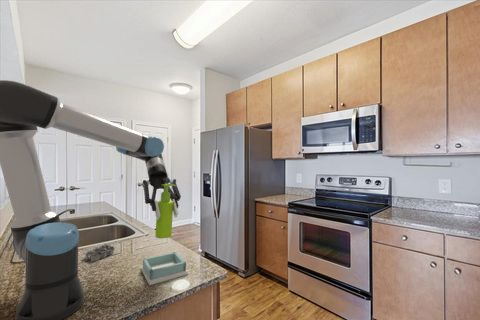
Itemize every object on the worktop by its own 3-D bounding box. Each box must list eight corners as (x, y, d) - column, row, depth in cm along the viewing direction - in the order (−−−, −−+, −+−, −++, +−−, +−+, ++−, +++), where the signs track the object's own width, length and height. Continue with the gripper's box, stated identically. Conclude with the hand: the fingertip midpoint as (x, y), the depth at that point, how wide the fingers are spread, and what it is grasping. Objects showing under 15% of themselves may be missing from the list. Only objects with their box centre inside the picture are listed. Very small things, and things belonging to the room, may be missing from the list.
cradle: (149, 285, 78) (149, 273, 78) (140, 269, 90) (141, 258, 90) (188, 274, 86) (188, 263, 86) (175, 260, 98) (175, 250, 98)
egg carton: (93, 263, 95) (93, 253, 95) (82, 259, 98) (82, 250, 98) (116, 253, 105) (116, 244, 105) (106, 250, 108) (106, 242, 108)
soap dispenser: (176, 235, 89) (179, 184, 89) (160, 239, 84) (163, 185, 84) (168, 232, 93) (171, 183, 93) (152, 235, 88) (155, 183, 88)
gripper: (176, 175, 106) (189, 218, 93) (131, 177, 96) (138, 225, 82) (180, 164, 102) (194, 207, 89) (134, 164, 91) (142, 213, 78)
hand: (167, 216), depth 85 cm, fingers closed on soap dispenser, 6 cm apart
